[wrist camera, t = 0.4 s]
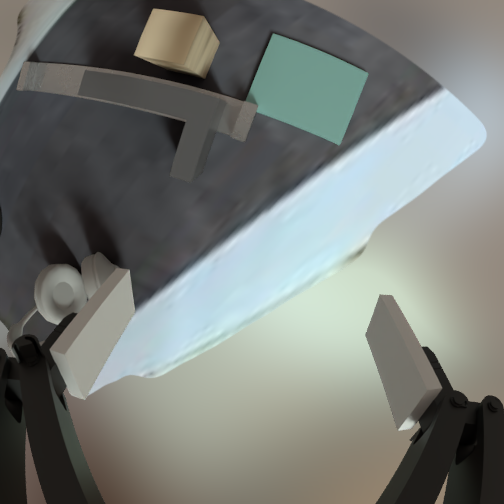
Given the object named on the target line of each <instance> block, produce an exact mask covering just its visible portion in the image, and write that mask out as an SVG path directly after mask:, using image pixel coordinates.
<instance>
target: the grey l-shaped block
mask: <svg viewBox="0 0 504 504" xmlns="http://www.w3.org/2000/svg"><path fill="white" fill-rule="evenodd" d="M78 95H80V96H85V97H91V98H96V99H101V100H107V101H111V102H116V103H121V104H125V105H130V106H134V107H139V108H143V109H147V110H151V111H155V112H159V113H163V114H167V115H170V116H174V117H178V118H181V119H185V120H186V123H185V126H184V129H183V132H182V135H181V138H180V142H179V145H178V148H177V151H176V155H175V158H174V161H173V165H172V168H171V172H170V175H169V176H171V177H174V178H177V179H180V180H183V181H186V182H189V183H191V182H193V181H194V180H195V179H196V178H197V177H198V176H199V175H200V174H201V173H202V172H203V169H204V166H205V163H206V160H207V157H208V154H209V151H210V148H211V145H212V142H213V139H214V137H215V134H216V131H217V128H218V125H219V122H220V120H221V117H222V114H223V111H224V109H225V106H226V103H227V102H226V101H224V100H222V99H220V98H216V97H213V96H210V95H206V94H203V93H199V92H195V91H191V90H188V89H184V88H180V87H176V86H171V85H167V84H163V83H158V82H154V81H149V80H144V79H139V78H134V77H128V76H123V75H117V74H111V73H104V72H97V71H89V70H85V72H84V75H83V78H82V81H81V85H80V88H79V92H78Z"/></svg>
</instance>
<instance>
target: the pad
mask: <svg viewBox="0 0 504 504" xmlns="http://www.w3.org/2000/svg"><path fill="white" fill-rule="evenodd" d="M368 74H369V73H367V72H365V71H363V70H361V69H359V68H357V67H355V66H353V65H351V64H349V63H346V62H344V61H342V60H340V59H338V58H336V57H333V56H331V55H329V54H327V53H324V52H322V51H319V50H317V49H315V48H312V47H310V46H307V45H304V44H302V43H299V42H297V41H294V40H291V39H288V38H285V37H282V36H280V35H277V34H274V33H273V35H272V37H271V40H270V42H269V44H268V47H267V49H266V52H265V54H264V56H263V59H262V61H261V64H260V66H259V68H258V71H257V73H256V76H255V78H254V81H253V83H252V86H251V89H250V91H249V94H248V96H247V99H246V101H247V102H250V103H252V104H255V105H258V106H259V107H258V109H257V112H258V113H261V114H264V115H266V116H269V117H272V118H275V119H277V120H280V121H283V122H285V123H288V124H290V125H293V126H295V127H298V128H300V129H303V130H305V131H308V132H310V133H313V134H315V135H317V136H320V137H322V138H324V139H327V140H329V141H331V142H333V143H336V144H338V145H340V144H341V141H342V139H343V136H344V134H345V131H346V129H347V127H348V124H349V122H350V119H351V117H352V114H353V112H354V109H355V107H356V104H357V102H358V99H359V97H360V94H361V92H362V89H363V86H364V84H365V81H366V79H367V76H368Z"/></svg>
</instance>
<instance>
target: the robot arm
mask: <svg viewBox="0 0 504 504" xmlns="http://www.w3.org/2000/svg"><path fill="white" fill-rule="evenodd" d="M1 230H2V215H1V209H0V235H1ZM134 313H135V307H134V301H133V294H132V286H131V278H130V270H128V269H121V268H116V270H115V271H114V272H113V273H112V274H111V275H110V276H109V277H108V279H107V280H106V281H105V282H104V283H103V284H102V285H101V287H100V288H99V289H98V290H97V291H96V292H95V294H94V295H93V296H92V297H91V298H90V299H89V301H88V302H87V303H86V304H85V305H84V307H83V308H82V309H81V310H80V311H79V313H74V312H72V313H71V314H69V315H67V316H66V317H64V318H63V319H62V321H61V322H60V323H59V324H58V326H57V327H56V328H55V329H54V331H53V332H52V333H51V334H50V335H49V337H48V338H47V339H46V340H45V342H44V343H43V344H42V345H41V346H40V343H39V341H38V339H37V337H35V336H34V335H30V334H28V335H23V336H20V337H18V338H17V339H16V340H15V341H14V342H13V344H12V347H11V349H12V351H13V353H14V355H15V357H16V358H13V357H8V356H7V354H6V352H5V350H4V349H2V348H0V504H27V495H26V480H25V479H26V478H25V439H26V428H27V433H28V438H29V443H30V448H31V452H32V456H33V460H34V464H35V467H36V471H37V474H38V478H39V482H40V485H41V488H42V491H43V494H44V497H45V500H46V503H47V504H105V502H104V500H103V498H102V496H101V494H100V492H99V490H98V488H97V485H96V483H95V481H94V479H93V477H92V474H91V472H90V469H89V467H88V465H87V462H86V460H85V457H84V454H83V452H82V449H81V446H80V443H79V440H78V438H77V435H76V432H75V429H74V425H73V422H72V419H71V416H70V412H69V409H68V406H67V402H66V398H65V396H64V394H63V392H64V390H65V388H66V387H67V389H68V391H69V392H70V394H71V395H72V396H75V397H78V398H80V399H83V400H85V399H86V397H87V395H88V394H89V392H90V390H91V388H92V386H93V384H94V382H95V381H96V379H97V377H98V375H99V373H100V372H101V370H102V368H103V366H104V364H105V363H106V361H107V359H108V357H109V356H110V354H111V352H112V350H113V349H114V347H115V345H116V344H117V342H118V340H119V338H120V337H121V335H122V333H123V332H124V330H125V328H126V327H127V325H128V323H129V322H130V320H131V318H132V317H133V315H134ZM366 338H367V341H368V344H369V346H370V349H371V352H372V355H373V357H374V360H375V363H376V366H377V369H378V371H379V374H380V377H381V380H382V383H383V386H384V389H385V392H386V395H387V398H388V402H389V405H390V408H391V411H392V414H393V418H394V421H395V424H396V427H397V430H405V429H412V428H413V427H414V425H415V424H416V423H417V422H418V421H419V423H420V426H421V428H419V430H418V431H417V432H416V433H415V434H414V435H413V437H412V438H411V439H410V441H412V440H413V441H412V443H411V445H410V447H409V449H408V451H407V453H406V454H405V456H404V458H403V460H402V462H401V464H400V465H399V467H398V469H397V471H396V472H395V474H394V476H393V477H392V479H391V481H390V482H389V484H388V485H387V487H386V489H385V490H384V492H383V493H382V495H381V496H380V498H379V499H378V501H377V502H376V504H435V501H436V499H437V497H438V495H439V493H440V491H441V488H442V486H443V484H444V482H445V479H446V477H447V474H448V479H447V485H446V491H445V496H444V502H443V504H504V408H503V404H502V403H501V401H500V400H499V399H498V398H497V397H494V396H489V395H488V396H486V397H485V398H484V399H483V400H482V402H481V403H477V402H470V401H468V399H467V397H466V396H465V395H464V394H463V393H461V392H459V391H456V390H453V388H452V386H451V384H450V383H449V380H448V378H447V377H446V375H445V373H444V371H443V369H442V367H441V365H440V363H438V360H437V358H436V356H435V354H434V353H433V352H432V351H431V350H430V349H429V348H428V347H421V345H420V343H419V341H418V340H417V338H416V336H415V334H414V333H413V330H412V329H411V327H410V325H409V323H408V322H407V320H406V318H405V317H404V315H403V313H402V311H401V310H400V308H399V306H398V304H397V303H396V301H395V300H394V298H393V296H392V295H380V296H379V298H378V302H377V304H376V307H375V310H374V313H373V316H372V318H371V321H370V324H369V327H368V329H367V332H366ZM448 472H449V473H448Z"/></svg>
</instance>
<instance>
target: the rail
mask: <svg viewBox="0 0 504 504" xmlns="http://www.w3.org/2000/svg"><path fill="white" fill-rule="evenodd" d="M85 70H89V71H97V72H104V73H111V74H117V75H123V76H128V77H134V78H139V79H144V80H149V81H154V82H158V83H163V84H167V85H171V86H176V87H180V88H184V89H188V90H191V91H195V92H199V93H203V94H206V95H210V96H213V97H216V98H220V99H222V100H224V101H226V102H227V103H226V106H225V109H224V111H223V114H222V117H221V120H220V122H219V125H218V128H217V132H220V133H223V134H227V135H230V136H231V138H234V139H237V140H240V141H242V142H245V141H246V139H247V136H248V133H249V131H250V128H251V125H252V123H253V120H254V118H255V115H256V112H257V109H258V107H259V106H258V105H255V104H252V103H250V102H247V101H241V100H238V99H234V98H231V97H228V96H225V95H221V94H218V93H215V92H211V91H207V90H204V89H200V88H196V87H193V86H189V85H185V84H181V83H177V82H172V81H168V80H164V79H159V78H154V77H150V76H145V75H139V74H134V73H128V72H123V71H116V70H110V69H103V68H95V67H87V66H78V65H67V64H54V63H37V62H24V63H23V66H22V70H21V74H20V77H19V81H18V85H17V89H16V90H21V91H31V90H32V91H40V92H48V93H55V94H62V95H68V96H74V97H80V98H86V99H91V100H96V101H102V102H107V103H111V104H116V105H121V106H125V107H130V108H134V109H138V110H142V111H146V112H150V113H154V114H158V115H162V116H166V117H170V118H173V119H177V120H181V121H184V122H186V120H185V119H181V118H178V117H174V116H170V115H167V114H163V113H159V112H155V111H151V110H147V109H143V108H139V107H134V106H130V105H125V104H121V103H116V102H111V101H107V100H101V99H96V98H91V97H85V96H80V95H78V92H79V88H80V85H81V81H82V78H83V75H84V72H85Z"/></svg>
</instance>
